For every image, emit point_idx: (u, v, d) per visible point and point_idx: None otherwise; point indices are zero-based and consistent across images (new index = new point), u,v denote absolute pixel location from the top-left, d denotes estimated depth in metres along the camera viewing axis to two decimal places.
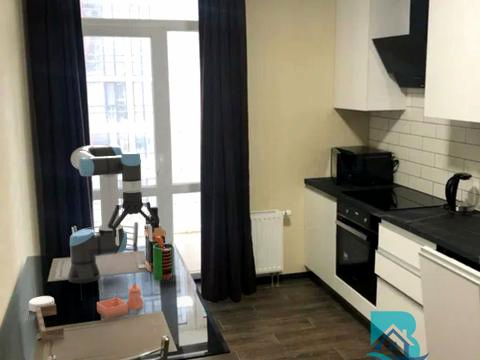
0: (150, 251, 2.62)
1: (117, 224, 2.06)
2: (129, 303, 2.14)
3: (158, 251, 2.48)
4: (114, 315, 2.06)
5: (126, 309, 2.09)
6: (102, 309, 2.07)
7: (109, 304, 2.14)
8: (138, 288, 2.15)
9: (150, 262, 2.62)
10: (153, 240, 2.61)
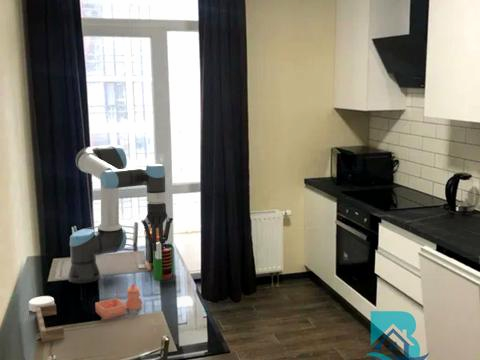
0: (150, 251, 2.62)
1: (155, 238, 2.12)
2: (128, 304, 2.14)
3: None
4: (112, 316, 2.06)
5: (124, 310, 2.09)
6: (100, 309, 2.07)
7: (108, 304, 2.14)
8: (137, 289, 2.15)
9: (150, 262, 2.62)
10: None
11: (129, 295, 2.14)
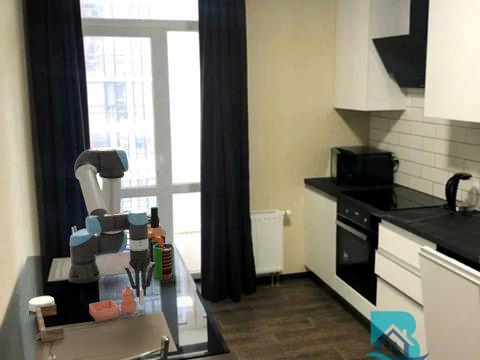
0: (150, 251, 2.62)
1: (138, 284, 2.12)
2: (122, 306, 2.11)
3: (158, 251, 2.48)
4: (104, 318, 2.04)
5: (117, 312, 2.06)
6: (93, 311, 2.05)
7: (102, 306, 2.12)
8: (131, 291, 2.12)
9: None
10: (153, 240, 2.61)
11: (123, 297, 2.11)
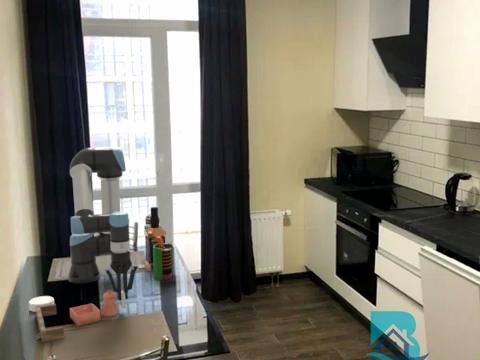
0: (150, 251, 2.62)
1: (119, 287, 2.08)
2: (103, 310, 2.08)
3: (158, 251, 2.48)
4: (86, 322, 2.00)
5: (99, 316, 2.03)
6: (73, 315, 2.01)
7: (83, 310, 2.08)
8: (113, 294, 2.08)
9: (150, 262, 2.62)
10: (153, 240, 2.61)
11: (105, 301, 2.08)
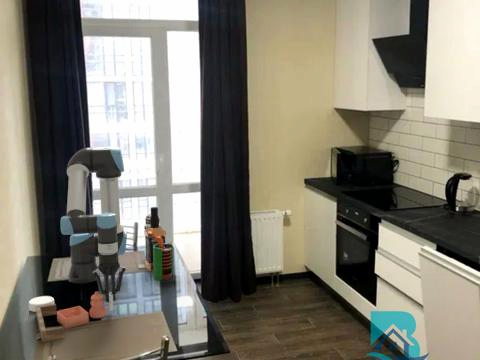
0: (150, 251, 2.62)
1: (107, 289, 2.06)
2: (91, 312, 2.06)
3: (158, 251, 2.48)
4: (74, 325, 1.98)
5: (87, 318, 2.01)
6: (61, 318, 1.99)
7: (70, 313, 2.06)
8: (100, 296, 2.07)
9: (150, 262, 2.62)
10: (153, 240, 2.61)
11: (92, 303, 2.06)
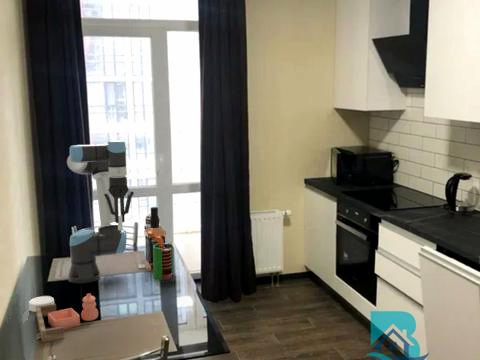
0: (150, 251, 2.62)
1: (116, 210, 2.24)
2: (83, 314, 2.04)
3: (158, 251, 2.48)
4: (65, 327, 1.96)
5: (78, 321, 1.98)
6: (52, 320, 1.97)
7: (62, 315, 2.04)
8: (92, 298, 2.04)
9: (150, 262, 2.62)
10: (153, 240, 2.61)
11: (84, 305, 2.03)
